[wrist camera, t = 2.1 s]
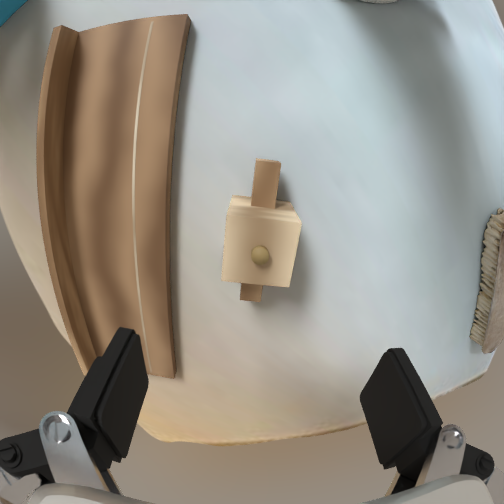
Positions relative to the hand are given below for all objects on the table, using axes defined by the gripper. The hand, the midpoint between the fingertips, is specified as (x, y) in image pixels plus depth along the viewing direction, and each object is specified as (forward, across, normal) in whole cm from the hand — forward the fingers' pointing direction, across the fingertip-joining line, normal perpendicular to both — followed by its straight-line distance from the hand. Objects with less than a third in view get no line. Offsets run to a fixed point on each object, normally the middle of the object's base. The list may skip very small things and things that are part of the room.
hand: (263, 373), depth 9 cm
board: (+16, +14, +1) cm, 22 cm away
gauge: (+17, 0, 0) cm, 17 cm away
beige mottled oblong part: (+17, -35, +3) cm, 39 cm away
